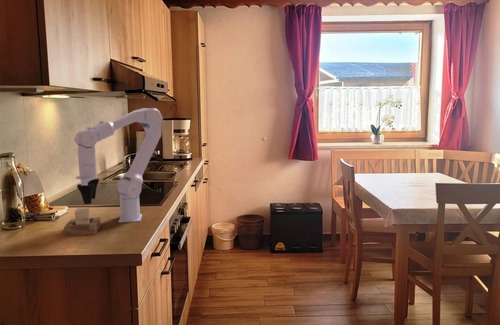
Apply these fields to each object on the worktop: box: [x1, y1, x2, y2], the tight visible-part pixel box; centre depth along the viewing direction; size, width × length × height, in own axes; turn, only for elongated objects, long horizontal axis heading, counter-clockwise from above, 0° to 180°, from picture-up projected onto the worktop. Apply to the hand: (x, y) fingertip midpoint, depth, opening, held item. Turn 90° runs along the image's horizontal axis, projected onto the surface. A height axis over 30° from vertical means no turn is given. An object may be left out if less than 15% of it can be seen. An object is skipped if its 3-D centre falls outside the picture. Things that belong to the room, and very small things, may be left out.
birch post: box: [74, 207, 91, 225], centre depth 145 cm, size 4×4×7 cm
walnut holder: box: [63, 216, 102, 236], centre depth 145 cm, size 10×10×3 cm
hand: (89, 201), depth 148 cm, fingers open, 7 cm apart
